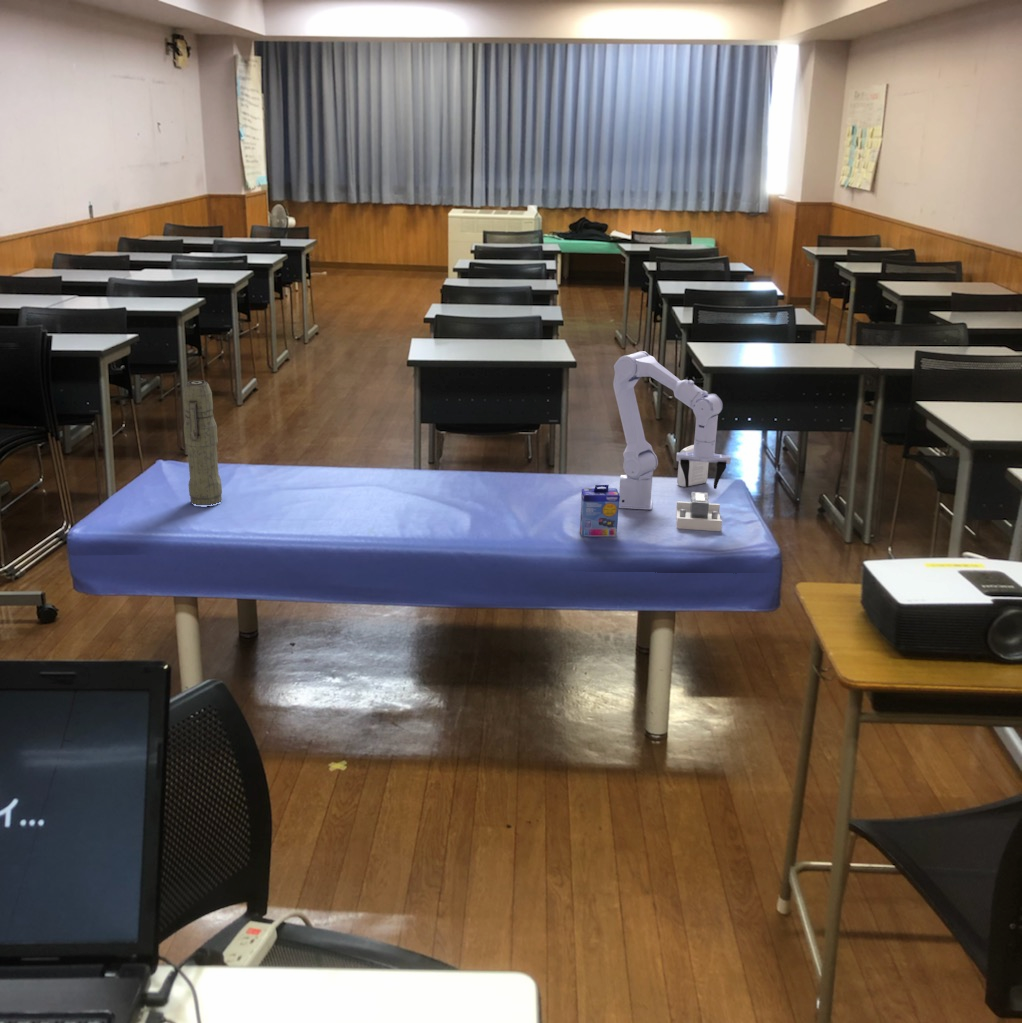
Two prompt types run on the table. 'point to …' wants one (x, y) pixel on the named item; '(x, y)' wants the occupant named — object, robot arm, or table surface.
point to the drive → (699, 505)
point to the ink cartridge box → (599, 512)
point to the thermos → (201, 444)
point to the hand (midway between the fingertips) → (700, 486)
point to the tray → (698, 523)
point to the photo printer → (693, 471)
